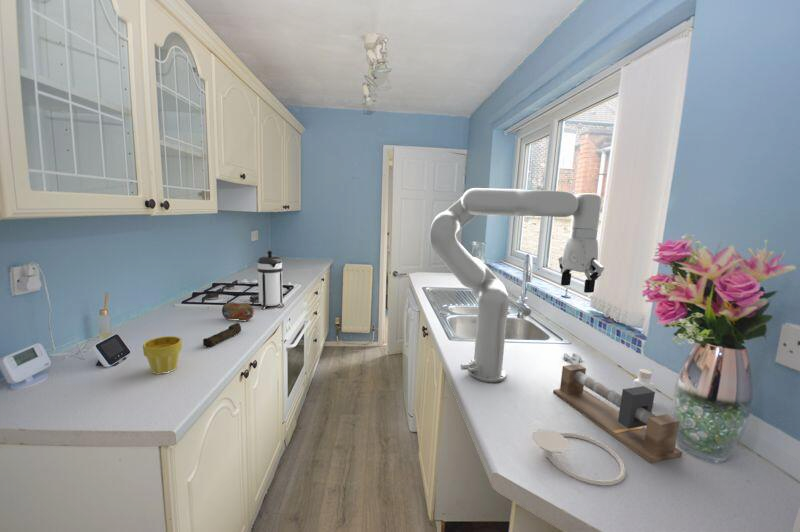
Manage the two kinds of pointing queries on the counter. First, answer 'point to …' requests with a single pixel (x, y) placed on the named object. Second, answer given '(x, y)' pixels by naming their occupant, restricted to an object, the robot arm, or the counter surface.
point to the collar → (634, 405)
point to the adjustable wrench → (572, 358)
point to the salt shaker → (643, 379)
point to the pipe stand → (643, 441)
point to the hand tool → (222, 335)
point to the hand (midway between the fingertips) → (576, 288)
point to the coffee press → (270, 280)
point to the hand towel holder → (559, 444)
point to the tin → (237, 311)
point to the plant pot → (162, 353)
